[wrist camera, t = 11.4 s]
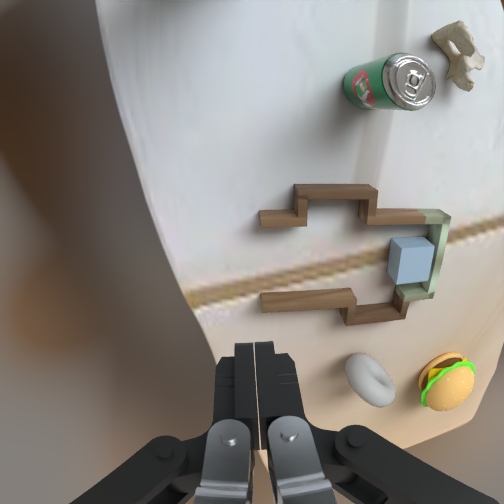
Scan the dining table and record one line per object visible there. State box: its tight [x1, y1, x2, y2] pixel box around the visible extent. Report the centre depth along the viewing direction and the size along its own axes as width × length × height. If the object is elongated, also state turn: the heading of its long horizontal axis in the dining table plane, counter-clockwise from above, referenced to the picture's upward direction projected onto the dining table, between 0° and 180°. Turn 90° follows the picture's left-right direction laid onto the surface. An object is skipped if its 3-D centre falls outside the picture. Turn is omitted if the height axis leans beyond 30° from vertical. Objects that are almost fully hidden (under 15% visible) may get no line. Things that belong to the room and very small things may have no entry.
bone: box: [432, 21, 485, 92], centre depth 25 cm, size 9×6×10 cm
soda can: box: [343, 53, 436, 111], centre depth 25 cm, size 5×5×12 cm
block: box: [387, 236, 435, 285], centre depth 38 cm, size 5×5×4 cm
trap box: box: [259, 184, 451, 326], centre depth 38 cm, size 18×24×3 cm
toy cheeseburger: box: [418, 352, 475, 411], centre depth 46 cm, size 12×12×9 cm
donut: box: [345, 353, 396, 408], centre depth 43 cm, size 10×4×10 cm, turn 53°
